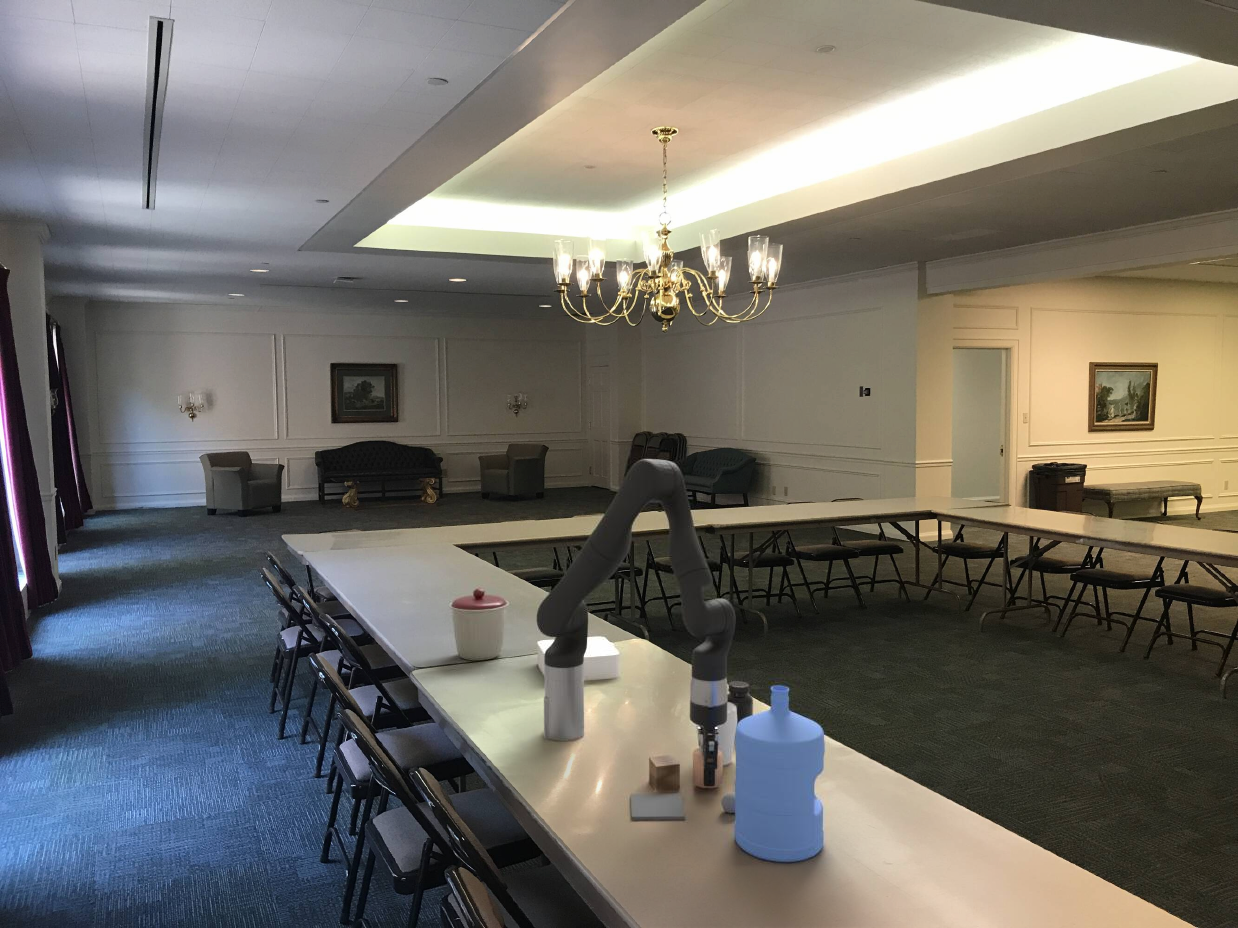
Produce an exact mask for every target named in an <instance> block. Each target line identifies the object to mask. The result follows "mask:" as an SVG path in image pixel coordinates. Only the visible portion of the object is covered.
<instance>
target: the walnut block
mask: <svg viewBox="0 0 1238 928" xmlns="http://www.w3.org/2000/svg"><path fill="white" fill-rule="evenodd" d="M680 770H681V763H680V762H679V761H678V760H677V759H676V758H675V757H674V755H673V754H667V755H666V754H665V755H659V756H658V755H657V756H649V757H648V781H649V783H650V784H651V785H652V787H653V788H654V789H655V790H656V791H664V790H672V789H679V788H681V787H680V784H681V781H680V780H681V775H680V774H681V771H680Z"/></svg>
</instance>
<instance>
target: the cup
mask: <svg viewBox="0 0 1238 928" xmlns="http://www.w3.org/2000/svg"><path fill="white" fill-rule="evenodd" d="M736 726H737V709H736V706H735V705H734V704H732V703H730V702H727V721H726V722H725V723H724V724H722V725H719V726H717V727H715V728H717V732H719V740H718V750H720V751H721V752H722V753H723V760H722V767H724V766H727V765H730V764H731V762H732V760H733V752H734V747H735V733H736ZM695 727H696V733H697V736H698V727H699V725H697V724H695ZM698 748H700V747H699V746H698Z"/></svg>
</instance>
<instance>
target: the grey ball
mask: <svg viewBox="0 0 1238 928" xmlns="http://www.w3.org/2000/svg"><path fill="white" fill-rule="evenodd" d="M720 801H721V803H720V804H721V807H722V809H723V810H724V811H725V812H726V813H729V814H735V805H736V796H735V793H733V792H729V793H728V792H727V793H726V794H724V795H723V797H722V798H721V800H720Z"/></svg>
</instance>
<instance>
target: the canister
mask: <svg viewBox="0 0 1238 928" xmlns="http://www.w3.org/2000/svg"><path fill="white" fill-rule="evenodd" d="M448 604H449V605H448V607H449V608H450V609H451V617H452V624H453V634H454V640H455V645H456V646H455V647H456V650H457V653H458V655H459V656H460V657H461V658H463V659H465V660H468V661H486V660H491V659H494V658H496V657H498V656H499V655H500V654H501V652H502V649H503V644H504V637H505V630H506V629H505V627H506V617H507V607H508V606H509V601H508V600H506V599H504V598H503V597H500V596H497V595H493V594H486V593H485V590H484V589H483V588H475V589H474V590H473V592H472V595H465V596H462V597H459V598H458V597H457V598H456V599H454V600H453V601H452V602H450V603H448Z"/></svg>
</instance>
